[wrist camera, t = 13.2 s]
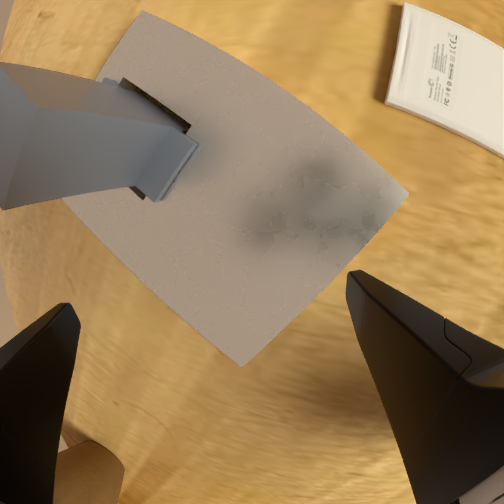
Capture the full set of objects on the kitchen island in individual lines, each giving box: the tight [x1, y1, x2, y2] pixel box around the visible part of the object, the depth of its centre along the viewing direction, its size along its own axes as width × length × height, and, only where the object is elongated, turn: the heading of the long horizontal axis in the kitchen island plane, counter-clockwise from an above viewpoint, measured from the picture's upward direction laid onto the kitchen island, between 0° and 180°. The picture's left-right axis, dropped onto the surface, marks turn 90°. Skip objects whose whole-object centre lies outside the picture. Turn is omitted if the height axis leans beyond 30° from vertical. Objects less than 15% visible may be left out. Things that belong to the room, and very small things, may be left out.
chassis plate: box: [61, 10, 410, 367], centre depth 20 cm, size 22×16×2 cm
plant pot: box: [53, 441, 124, 504], centre depth 28 cm, size 15×15×16 cm
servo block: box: [0, 62, 198, 210], centre depth 14 cm, size 9×4×14 cm, turn 51°
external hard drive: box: [384, 2, 504, 158], centre depth 14 cm, size 2×8×12 cm
